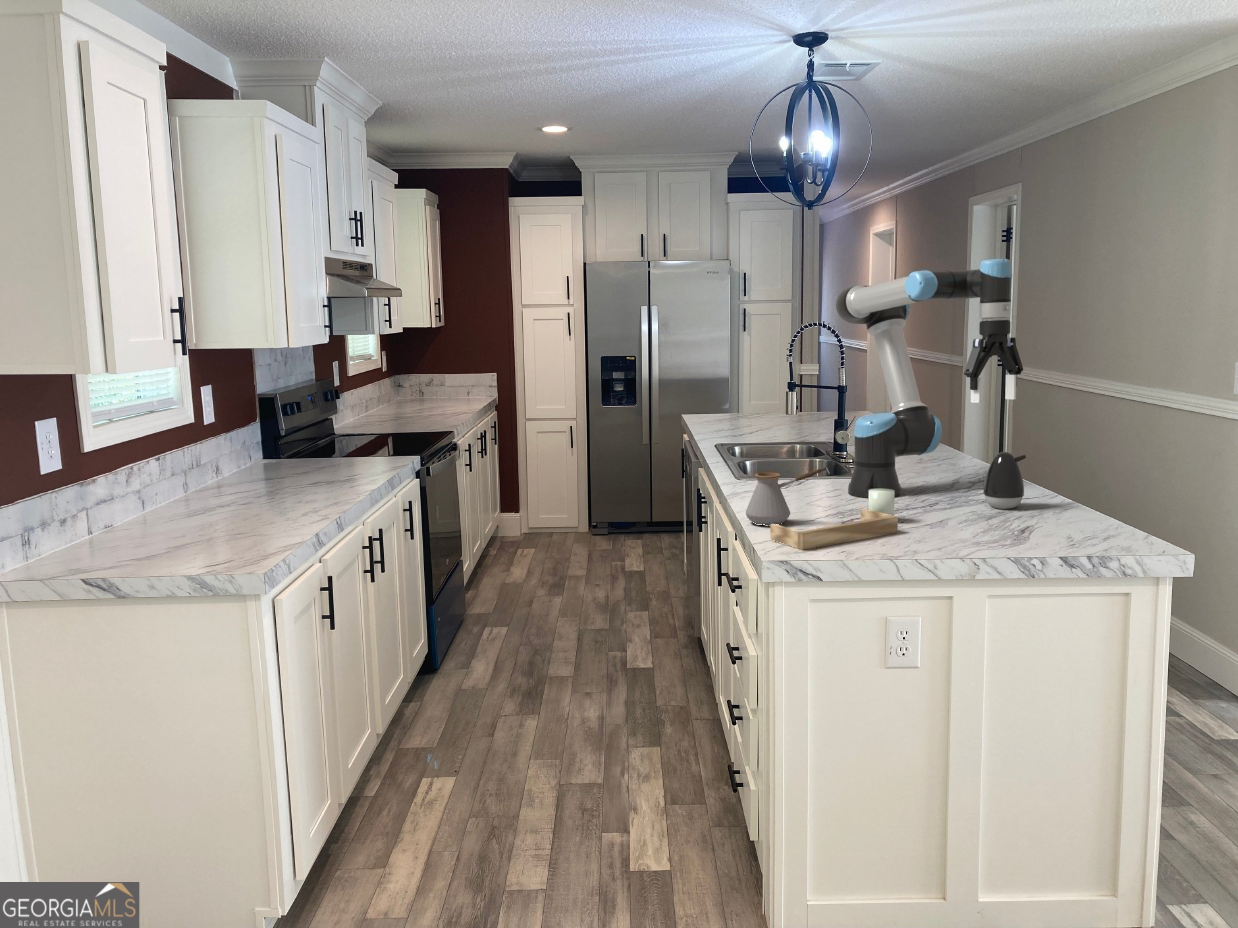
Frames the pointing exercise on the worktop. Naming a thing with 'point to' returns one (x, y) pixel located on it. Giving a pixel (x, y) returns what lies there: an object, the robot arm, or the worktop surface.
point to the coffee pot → (771, 499)
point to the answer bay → (837, 531)
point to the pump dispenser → (1004, 482)
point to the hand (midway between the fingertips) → (993, 401)
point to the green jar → (881, 500)
